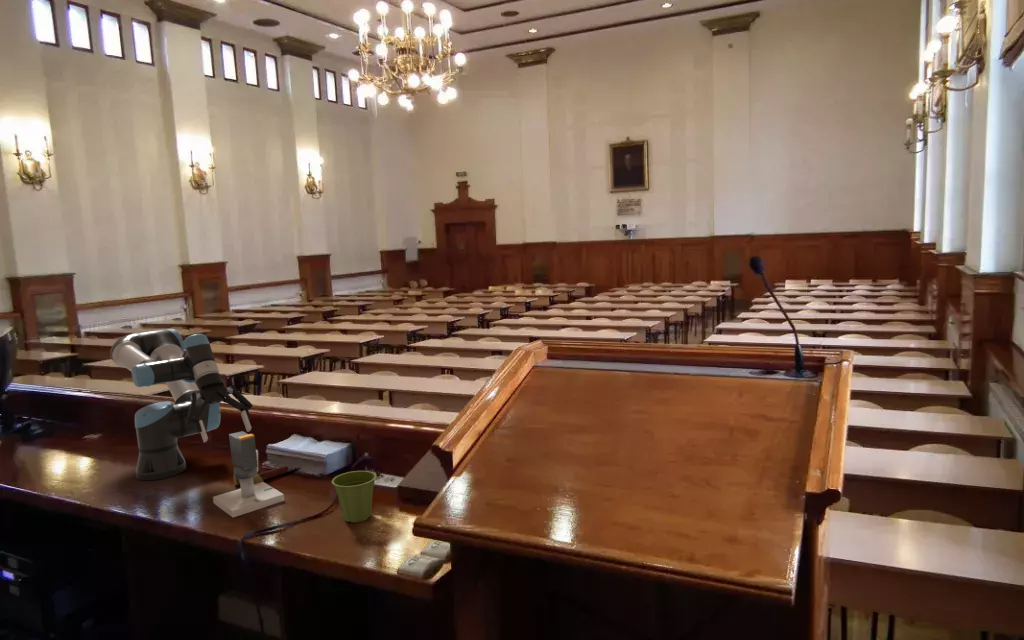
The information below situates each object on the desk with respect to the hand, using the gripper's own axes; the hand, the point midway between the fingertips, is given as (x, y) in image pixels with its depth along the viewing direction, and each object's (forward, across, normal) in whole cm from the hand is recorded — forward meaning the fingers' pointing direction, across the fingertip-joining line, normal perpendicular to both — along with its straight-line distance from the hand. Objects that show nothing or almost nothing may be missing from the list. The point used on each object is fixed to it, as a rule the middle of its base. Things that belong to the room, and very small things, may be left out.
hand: (228, 435), depth 210 cm
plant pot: (+46, +13, -36) cm, 60 cm away
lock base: (+25, -3, -8) cm, 26 cm away
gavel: (+17, +10, +4) cm, 20 cm away
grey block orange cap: (+18, -3, -13) cm, 22 cm away
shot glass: (+10, +7, +12) cm, 17 cm away
